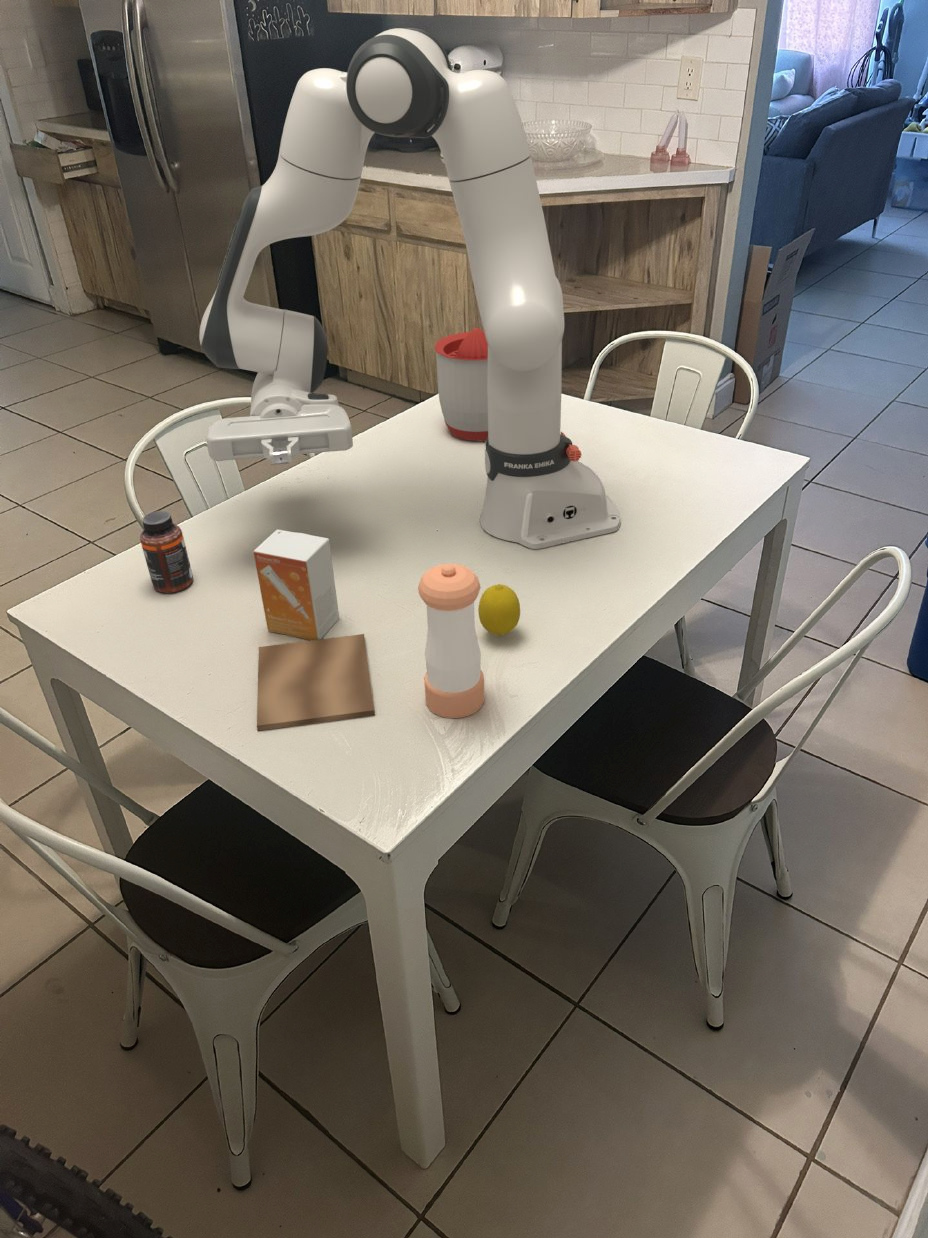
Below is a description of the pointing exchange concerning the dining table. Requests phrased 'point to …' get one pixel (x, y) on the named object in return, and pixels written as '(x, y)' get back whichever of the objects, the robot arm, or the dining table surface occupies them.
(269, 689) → the walnut board
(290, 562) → the small box
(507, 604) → the lemon
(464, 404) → the citrus juicer
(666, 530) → the dining table surface
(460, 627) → the pepper shaker
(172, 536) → the supplement bottle
